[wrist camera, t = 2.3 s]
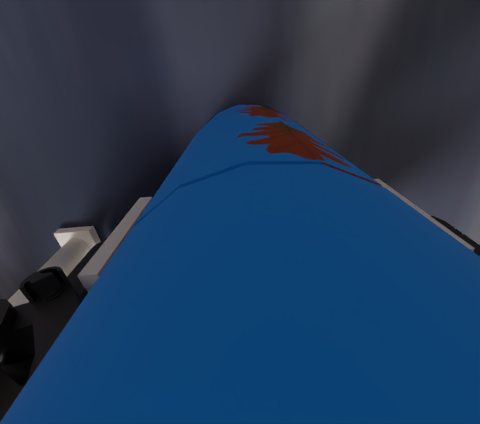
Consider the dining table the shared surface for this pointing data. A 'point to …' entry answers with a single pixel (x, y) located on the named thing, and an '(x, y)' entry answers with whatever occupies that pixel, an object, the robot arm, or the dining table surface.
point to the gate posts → (66, 253)
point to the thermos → (269, 299)
